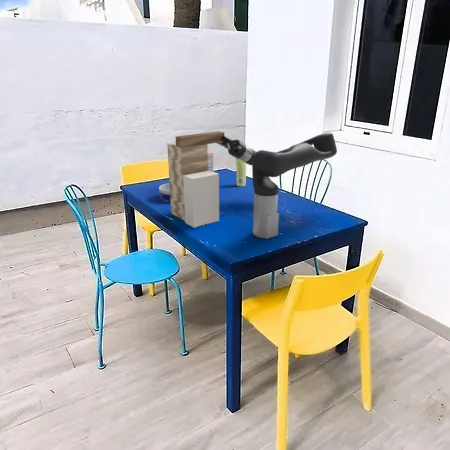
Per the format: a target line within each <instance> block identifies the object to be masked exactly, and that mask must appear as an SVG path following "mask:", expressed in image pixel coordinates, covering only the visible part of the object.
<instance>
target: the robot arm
mask: <svg viewBox="0 0 450 450" xmlns="http://www.w3.org/2000/svg"><path fill="white" fill-rule="evenodd" d="M334 137H335V136H334V134H333V133H332V132H324V133H321V134H319V135H315V136H313V137H310V138H308V139H306V140H304V141H301V142H299V143H297V144H292V145H291V146H289V148H286V149H283V150H279V151H269V150H263V149H262V150H261V149H260V150H258V151H256V150H254V149H252V148H251V147H250V146H249V145H248V144H246V143H244V142H243V141H240V139H232V138H228V137H227V136H225V135H224V136H222V137H221V139H220V140H221V141H223V142H219V143H216V144H217V145H219V146H220V147H223V148H224V149H227V151H228V154H229V155H231V156H232V157H233V158H235V159H236V158H237V159H239V160H241V161H243V162H245V163H247V165H249V166H252V167H251V169H252V172H251V173H252V175H251V176H252V187H253V195H254V196H253V217H252V218H253V221H252V225H253V226H252V235H253V236H256V237H257V238H261V239H267V240H268V239H270V238H274V237H278V235H279V223H280V222H279V221H280V219H279V218H280V213H279V212H278V205H279V203H278V201H279V186H278V184H276V183H275V182H274V181H273V180H272V179H271V178H277V177H280V176H282V175H283V174H286V173H287V172H290V171H291V170H295V169H298V168H300V167H301V168H302V167H304V166H308V165H309V164H312V163H314V162H319V161H323V160H326V159H327V160H328V159H331V158H332V157H334V156H336V154H337V153H338V149H337V145H336V141H335V138H334Z"/></svg>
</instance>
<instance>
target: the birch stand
mask: <svg viewBox="0 0 450 450" xmlns="http://www.w3.org/2000/svg"><path fill="white" fill-rule="evenodd" d="M166 145H167V159H168V160H167V161H168V162H167V163H168V177H169V178H168V180H169V183H170V198H171V202H170V212H171V214H172V215H173V216H175V217H177V218H178V219H180V220H182V221H184V222H185V206H184V183H183V175H188V174H193V173H198V172H204V171H208V151H209V148H208V146H209V144H205V145H198V146H191V147H184V148H180V147H177V146H176V141H175V142H168V143H167V144H166Z"/></svg>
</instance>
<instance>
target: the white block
mask: <svg viewBox="0 0 450 450" xmlns="http://www.w3.org/2000/svg"><path fill="white" fill-rule="evenodd" d="M219 174H220V173H217V172H215V171H213V172H212V171H204V172H198V173H193V174H188V175H183V183H184V206H185V221H184V222H185V224H186V225H188V226H190V227H192V228H193V229H194V228H198V226H199V227H202V226H205V224H206V225H208V224H213V223H216V222H219V221H220V175H219ZM201 225H202V226H201Z"/></svg>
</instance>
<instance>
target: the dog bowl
mask: <svg viewBox="0 0 450 450" xmlns="http://www.w3.org/2000/svg"><path fill="white" fill-rule="evenodd" d="M158 195H159V200H160V201H161V202H165V203H171V198H170V182H168V183H164V184H161V185H159V187H158Z"/></svg>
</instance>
